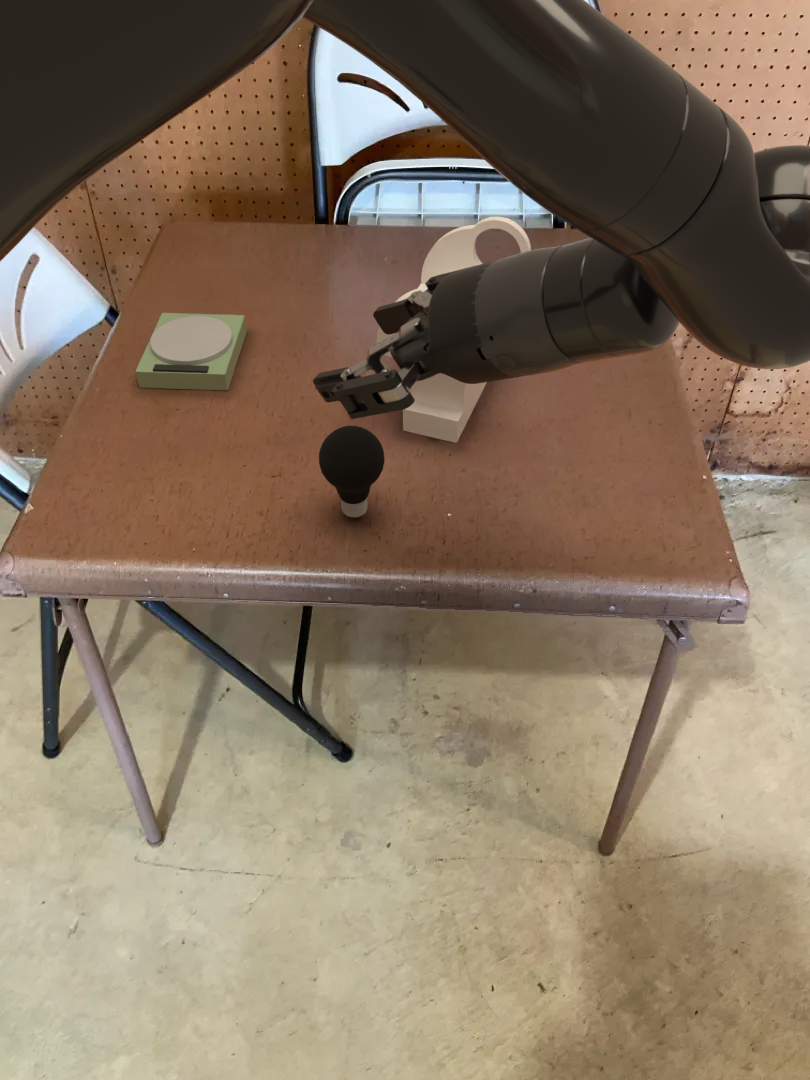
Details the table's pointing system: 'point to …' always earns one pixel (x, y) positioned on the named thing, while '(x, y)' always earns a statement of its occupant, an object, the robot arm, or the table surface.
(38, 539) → the table surface
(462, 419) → the tape dispenser
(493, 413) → the table surface
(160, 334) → the scale
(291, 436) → the table surface
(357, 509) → the light bulb
